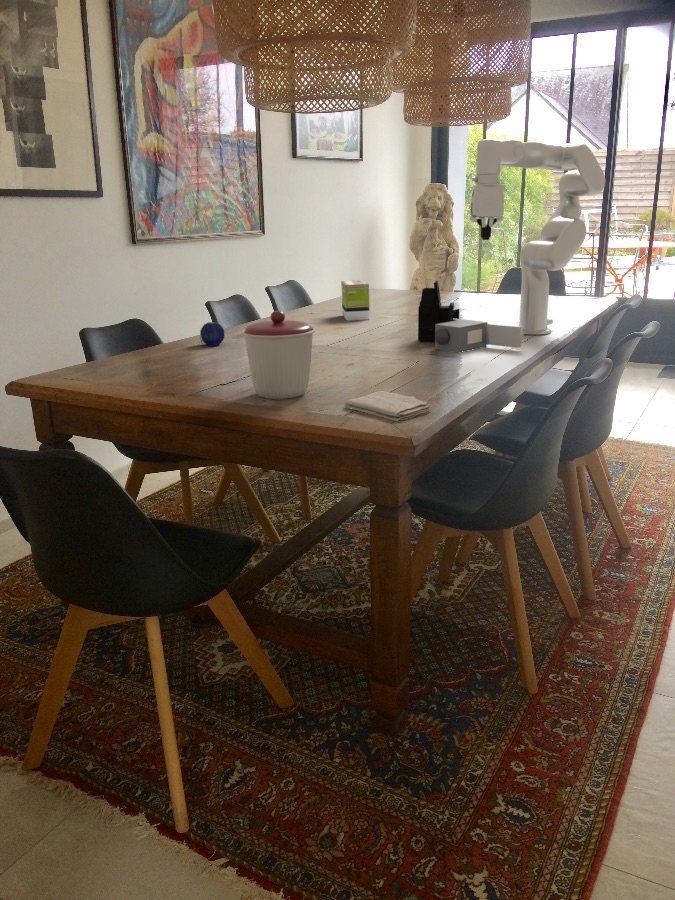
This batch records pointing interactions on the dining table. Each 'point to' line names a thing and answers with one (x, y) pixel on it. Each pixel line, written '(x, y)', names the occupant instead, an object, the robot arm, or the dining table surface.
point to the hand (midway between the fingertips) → (485, 239)
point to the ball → (211, 334)
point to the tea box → (355, 300)
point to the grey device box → (460, 335)
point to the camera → (433, 313)
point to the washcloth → (389, 405)
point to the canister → (279, 356)
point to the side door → (504, 335)
